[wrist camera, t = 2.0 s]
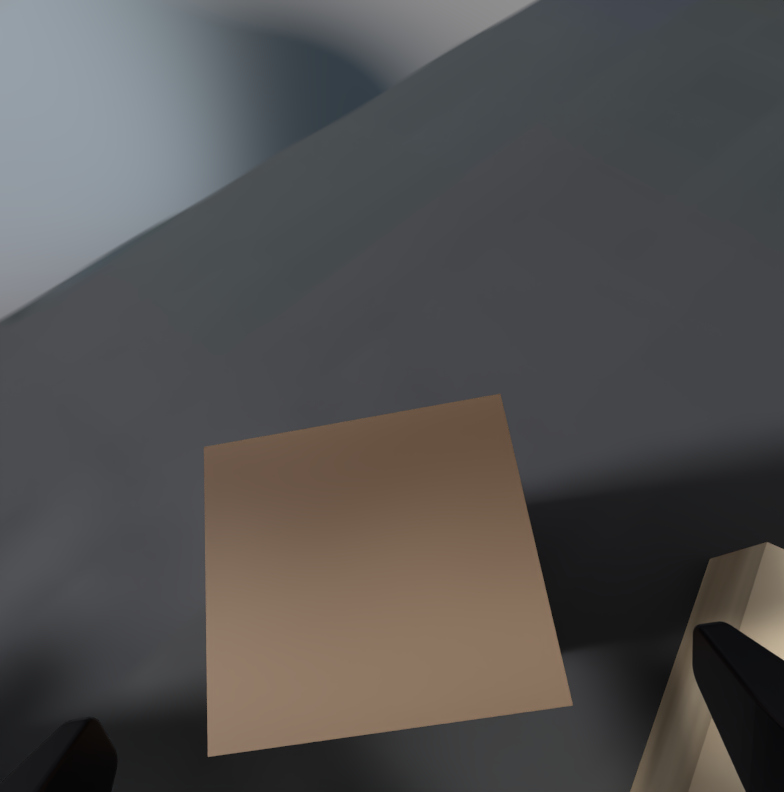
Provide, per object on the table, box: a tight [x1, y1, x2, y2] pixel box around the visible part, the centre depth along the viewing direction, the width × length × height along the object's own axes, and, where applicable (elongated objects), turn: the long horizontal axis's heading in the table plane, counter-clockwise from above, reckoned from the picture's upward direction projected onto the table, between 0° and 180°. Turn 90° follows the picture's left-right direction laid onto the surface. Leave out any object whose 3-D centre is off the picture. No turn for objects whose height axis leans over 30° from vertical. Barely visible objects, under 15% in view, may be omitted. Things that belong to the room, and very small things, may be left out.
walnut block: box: [204, 394, 573, 757], centre depth 13 cm, size 4×5×10 cm
